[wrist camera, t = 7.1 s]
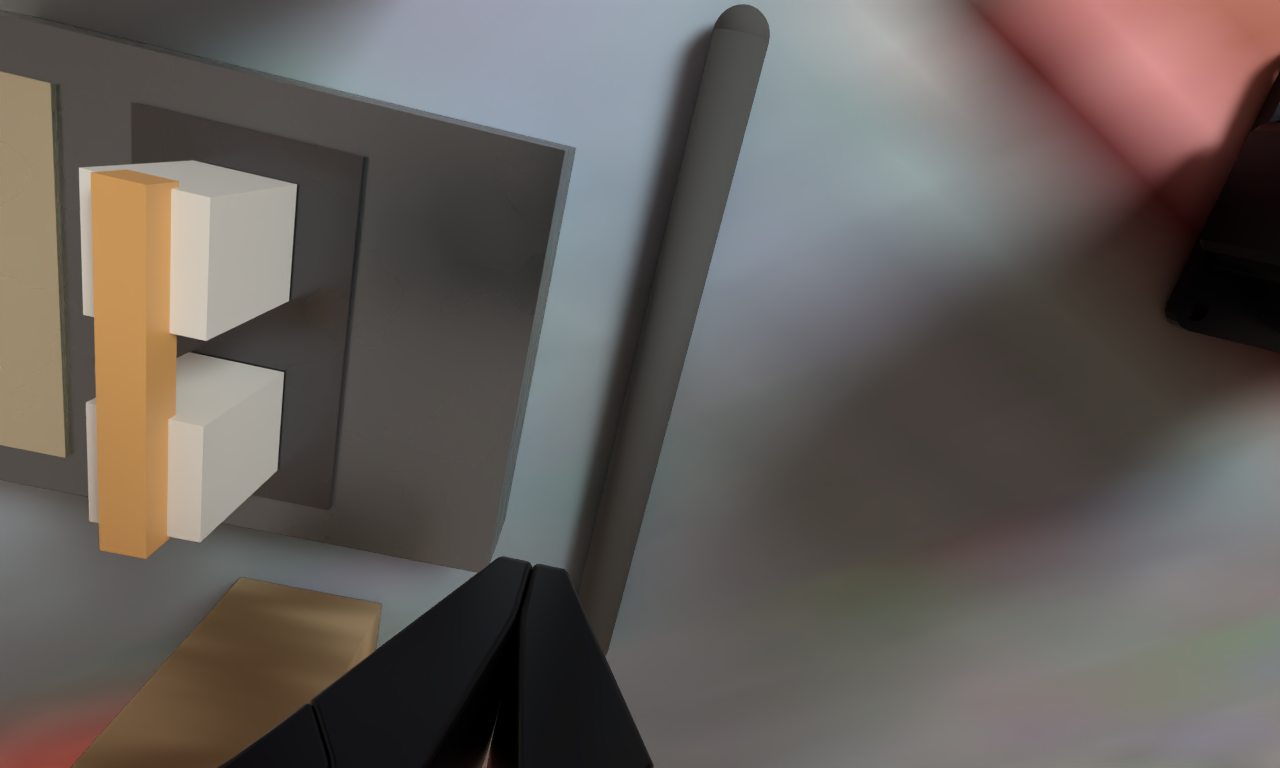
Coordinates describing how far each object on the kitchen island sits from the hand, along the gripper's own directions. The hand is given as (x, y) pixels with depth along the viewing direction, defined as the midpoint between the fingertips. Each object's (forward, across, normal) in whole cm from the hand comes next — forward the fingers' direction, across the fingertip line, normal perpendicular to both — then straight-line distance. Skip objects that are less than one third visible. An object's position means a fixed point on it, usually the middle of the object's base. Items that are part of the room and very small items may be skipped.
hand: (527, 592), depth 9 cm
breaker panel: (+10, +7, 0) cm, 12 cm away
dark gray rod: (+10, -2, 0) cm, 10 cm away
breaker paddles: (+7, +7, 0) cm, 10 cm away
